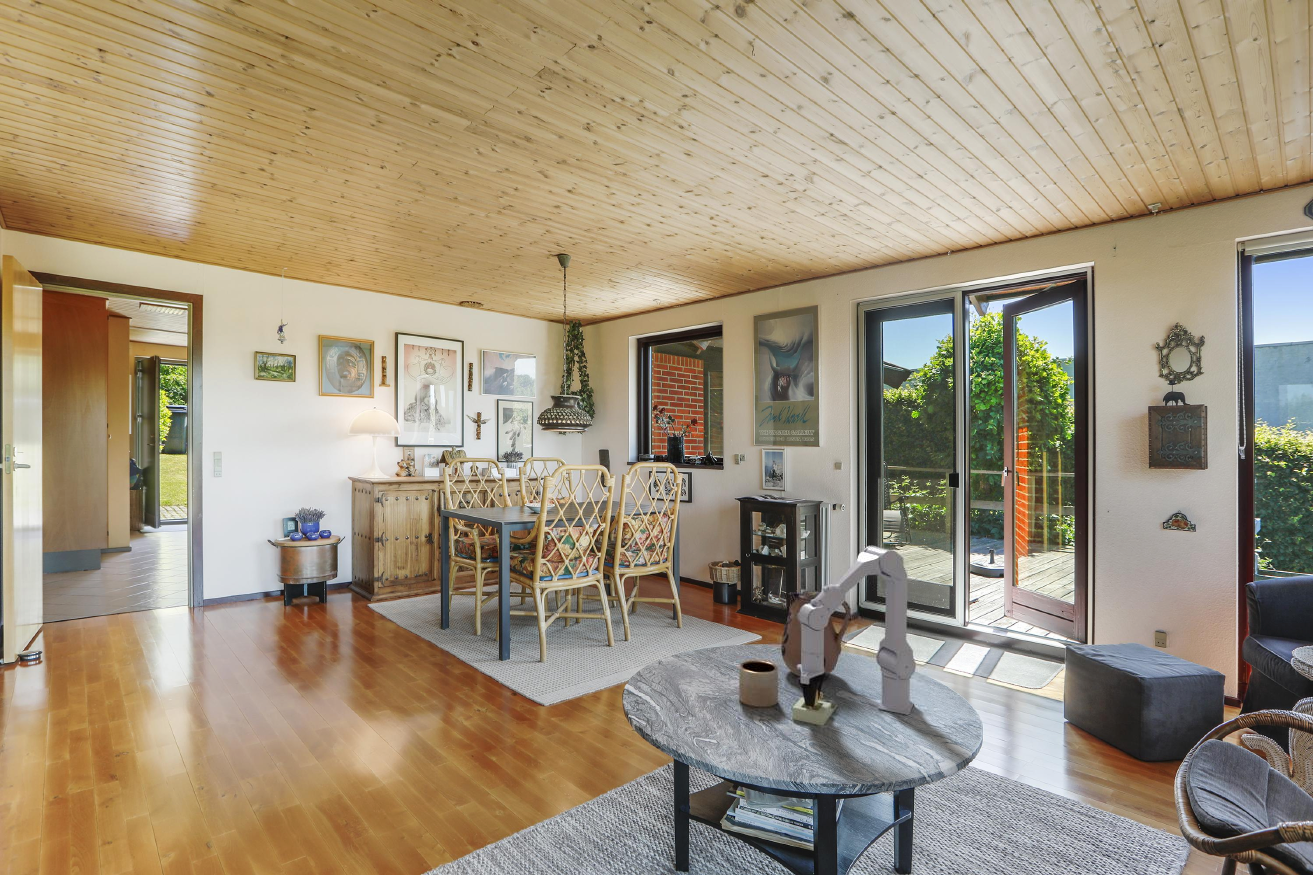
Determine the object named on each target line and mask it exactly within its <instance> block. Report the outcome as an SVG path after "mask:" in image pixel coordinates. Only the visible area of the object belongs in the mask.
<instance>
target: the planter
mask: <svg viewBox="0 0 1313 875" xmlns="http://www.w3.org/2000/svg"><path fill="white" fill-rule="evenodd" d="M738 668H739V670H738V672H739V673H738V674H739V675H738V676H739V677H738V678H739V681H738V699H739V701H741V703H743V704H744V705H746V706H747V707H753V708H759V709H760V708H763V709H764V708H770V707H774V705H776V704H778V702H779V666H778V665H777V664H775V663H773V662H769V661H765V660H755V659H754V660H747V661H743V662H741V663H740V664H739V667H738Z"/></svg>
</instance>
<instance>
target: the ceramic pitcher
mask: <svg viewBox="0 0 1313 875" xmlns="http://www.w3.org/2000/svg"><path fill="white" fill-rule="evenodd" d="M821 592H822V591H817V590H806V591H805V590H804V591H802V593H798V592H794V591H793V592H792V591H791V592H789V593H788V595H789V599H790V604H789V610H788V615H787V619H786V622H785V626H784V629H783V634H782V638H781V645H780V647H781V648H780V649H781V651H780V652H781V656H782V660H783V662H784V664H785V666H786V667H787V668H788V669H789V671H790V672H791V673H793V675H796V676H798V677H799V676H801V670H800V669H797V665H799V664H801V641H802V629H801V623H800V621H799V620H798V617H797V614H799V611H800V609H801V607H802V606H803V605H805V604H810V603H811V600H812V599H815V598H816V597H817V596H818V595H819V594H820V593H821ZM841 605H842V607H843V609H844V611H845V614H844V615H845V617H844V620H843V623H842V626H841V628H840V629H839V631H838V632H837V631H836V628H835V626H834V623H833V620H832V617H831V616H830V617H829V621H828V624H827V626H826V627H824V672H825V673H827V675H826V676H829V674H831V673H832V672H833V671H834V670H835V668H836V665H837V663H838V661H839V657H840V655H841V653H842V640H843V638H844V635H845V633H846V632H847V629H848V627H849V624H850V620H851V613H852V612H851V611H852V609H851V607H850V605H849V603H848V602H847V600H845V601H844V602H843V603H842V604H841ZM841 605H840V606H841Z"/></svg>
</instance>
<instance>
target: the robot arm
mask: <svg viewBox="0 0 1313 875" xmlns="http://www.w3.org/2000/svg"><path fill="white" fill-rule="evenodd" d="M874 575H875V576H877V575H880V577H882V579H884V581H885V618H884V620H885V621H884V622H885V625H884V638H883V639H881V640H880V641H879V643H878V644H879V647H878V649H877V653H876V655H875V657H876V658H875V660H876V663H877V664H878V665H879V666H878V667H880V672H881V701H880V702H879V704H878V705H877V709H879V710H882V711H887V712H890V713H891V712H892V713H897V714H903V715H907V716H908V715H910V713H911V711H912V709H913V706H914V703H915V702H914V701H912V700H910V699H911V698H910V697H911V686H910V685H911V679H912V676H913V675H914V674H915V671H916V666H917V665H916V660H915V658H914V650H913V648H912V647H911V645H910V644H909V642H908V641H907V623H908V622H907V620H908V617H907V616H908V615H907V614H908V580H909V579H908V572H907V570H906V569H905V566H904V557H902V555H901V554H899V553H898V552H897V551H896V550H893V549H886V548H882V547H878V546H876V545H868V546H867V547H865V548H864V550H863V551H862V552H860V553H859V554H858V556H857V560H856V561H855V562H854V563H853V564H852V566H851V567H850V568H849V569H848V570H847V571H846V572H845V573H844V574H843V575H842V577H841V578H840V579H839V580H838V581H837V582H836V583H835V584H831V583H830V584H828V585H824V586H823V587H822V591H820V592H821V593H820V594H819V595H818V596H817V597H816V598H815V599H812V600H811V603H810V604H805V605H803V606H802V607H801V609H800V611H799V614H797V617H798V620H799V621H800V623H801V629H802V641H801V664H799V665H797V669H800V670H801V676H798V677H797V683H798V685H799V686H800V687H799V688H801V691H802V695H803V698H804V701H805V705H806V706H810V707H814V704H815V699H816V693H817V690H818V700H819V697H820V693H821V691H822V688H823V687H822V686H823V684H824V681H825V679H826V678H827V676H828V675H827V673H825V672H824V627H826V626H827V624H828V621H829V617H830V616H831V615H832V614H833V613H834V612H835V611H837V609H838V608H840V606H841V604H842V603H843V602H844V601H846V594H847V593H848V592H850V591H851V589H853V588H854V587H855V586H856V585H857V584H859V582H861V581H862V580H863V579H864V578H865V577H866V576H874Z"/></svg>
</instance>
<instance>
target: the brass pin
mask: <svg viewBox="0 0 1313 875" xmlns="http://www.w3.org/2000/svg"><path fill="white" fill-rule="evenodd" d="M807 709H811V710H816V711H818V690H817V693H816V699H815V704H814V707H810V706H807Z"/></svg>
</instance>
